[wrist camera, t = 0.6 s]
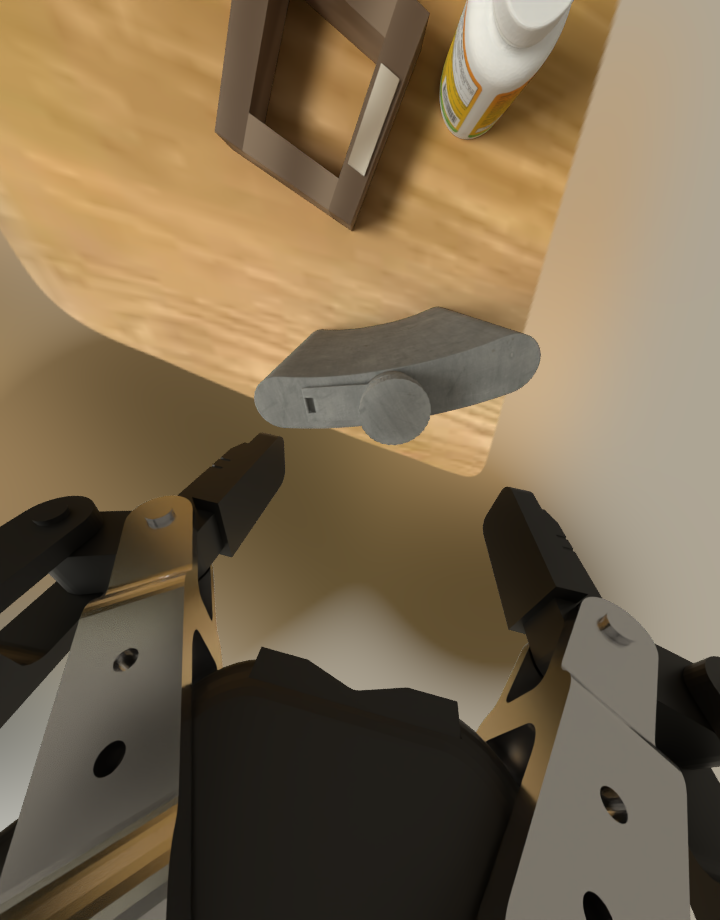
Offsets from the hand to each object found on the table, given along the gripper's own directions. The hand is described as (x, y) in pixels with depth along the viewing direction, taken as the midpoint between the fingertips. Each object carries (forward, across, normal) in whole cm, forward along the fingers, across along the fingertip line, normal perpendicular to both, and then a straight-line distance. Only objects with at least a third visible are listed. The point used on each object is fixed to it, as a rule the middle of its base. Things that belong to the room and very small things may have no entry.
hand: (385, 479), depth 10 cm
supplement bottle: (+25, -1, -18) cm, 31 cm away
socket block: (+23, +11, -16) cm, 30 cm away
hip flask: (+24, +3, 0) cm, 25 cm away
